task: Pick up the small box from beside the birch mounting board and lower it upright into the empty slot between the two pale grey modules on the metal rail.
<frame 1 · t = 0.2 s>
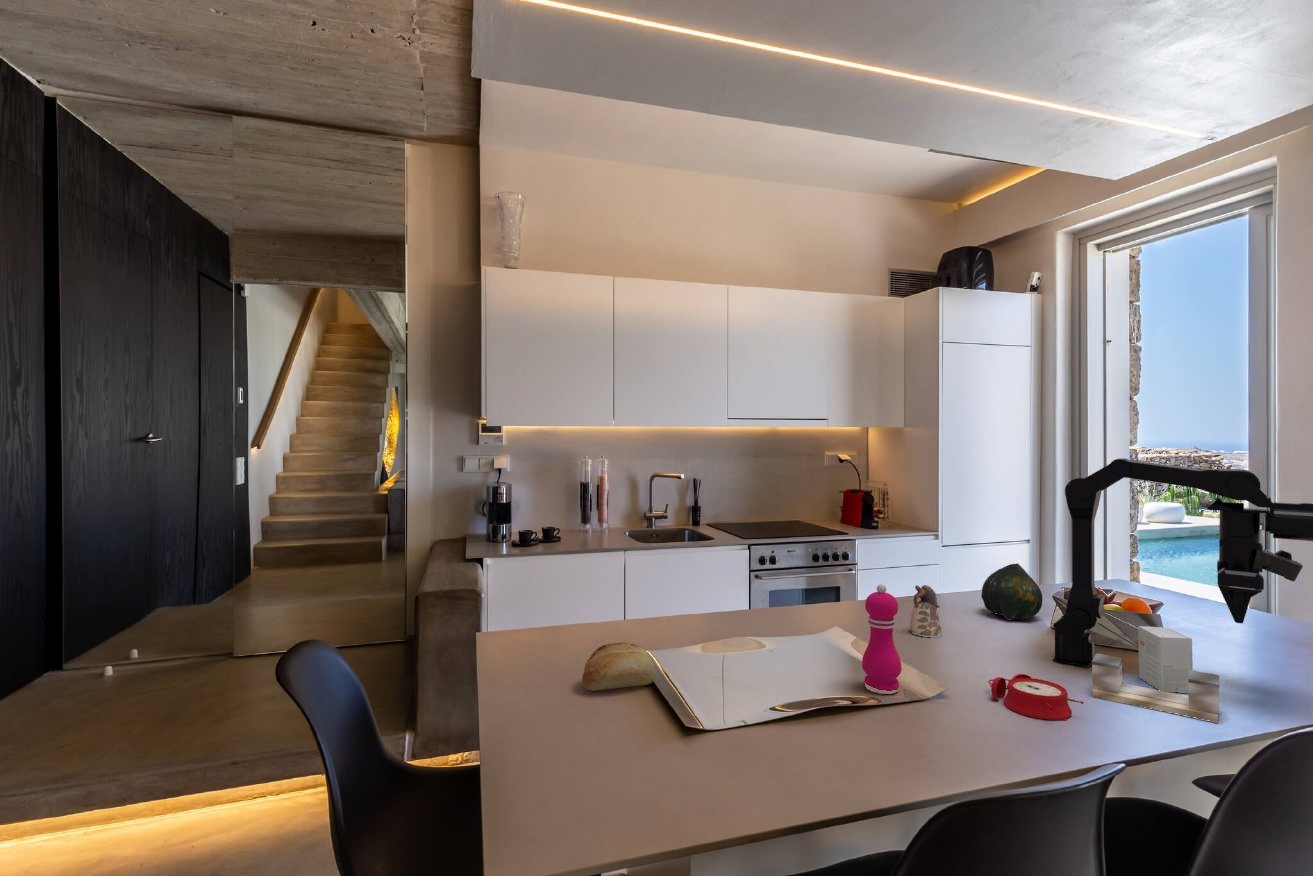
hand: (1238, 618, 123), 14 cm above the table, tool pointing down, fingers open, 9 cm apart
squash: (1010, 617, 178), on the table
alarm clock: (1028, 707, 117), on the table
bread roll: (618, 687, 126), on the table
figurine: (925, 634, 161), on the table
mounting board: (1153, 702, 118), on the table
pepper mill: (881, 689, 125), on the table
small box: (1164, 686, 127), on the table
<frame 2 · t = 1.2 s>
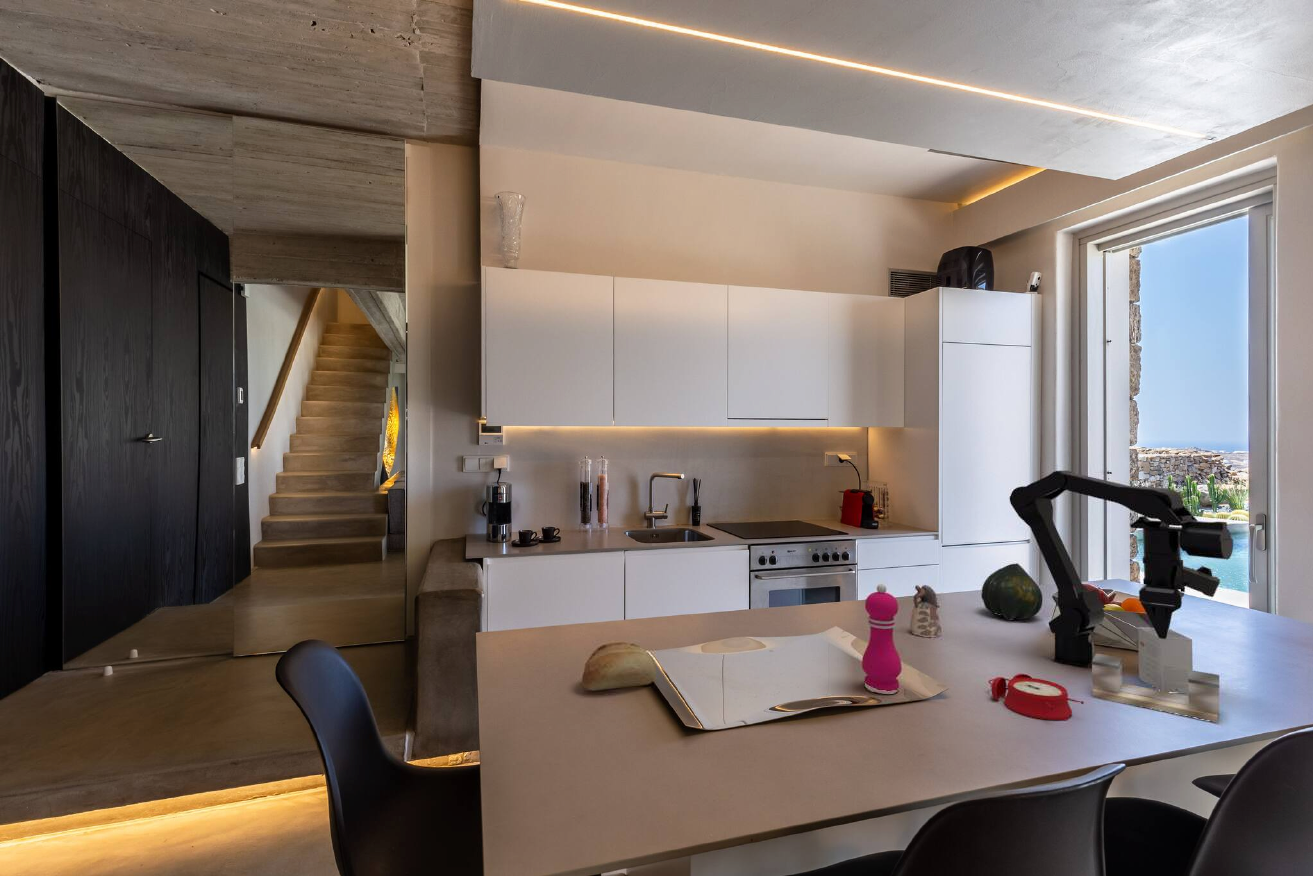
hand: (1164, 633, 127), 10 cm above the table, tool pointing down, fingers closed on small box, 9 cm apart
small box: (1164, 687, 127), on the table, touching gripper
everything else where it was.
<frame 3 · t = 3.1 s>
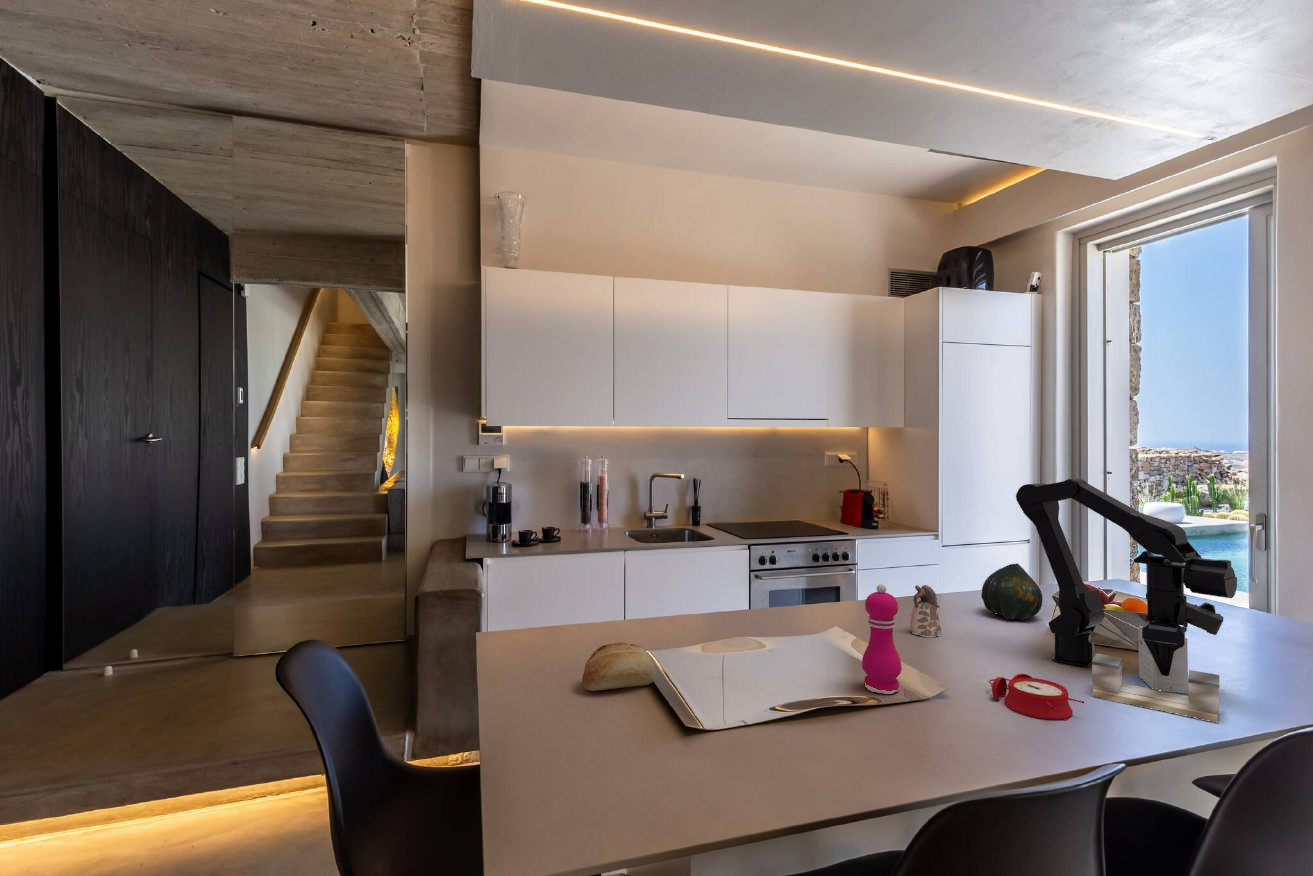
hand: (1166, 669, 127), 3 cm above the table, tool pointing down, fingers closed on small box, 9 cm apart
small box: (1162, 686, 127), on the table, touching gripper
everything else where it was.
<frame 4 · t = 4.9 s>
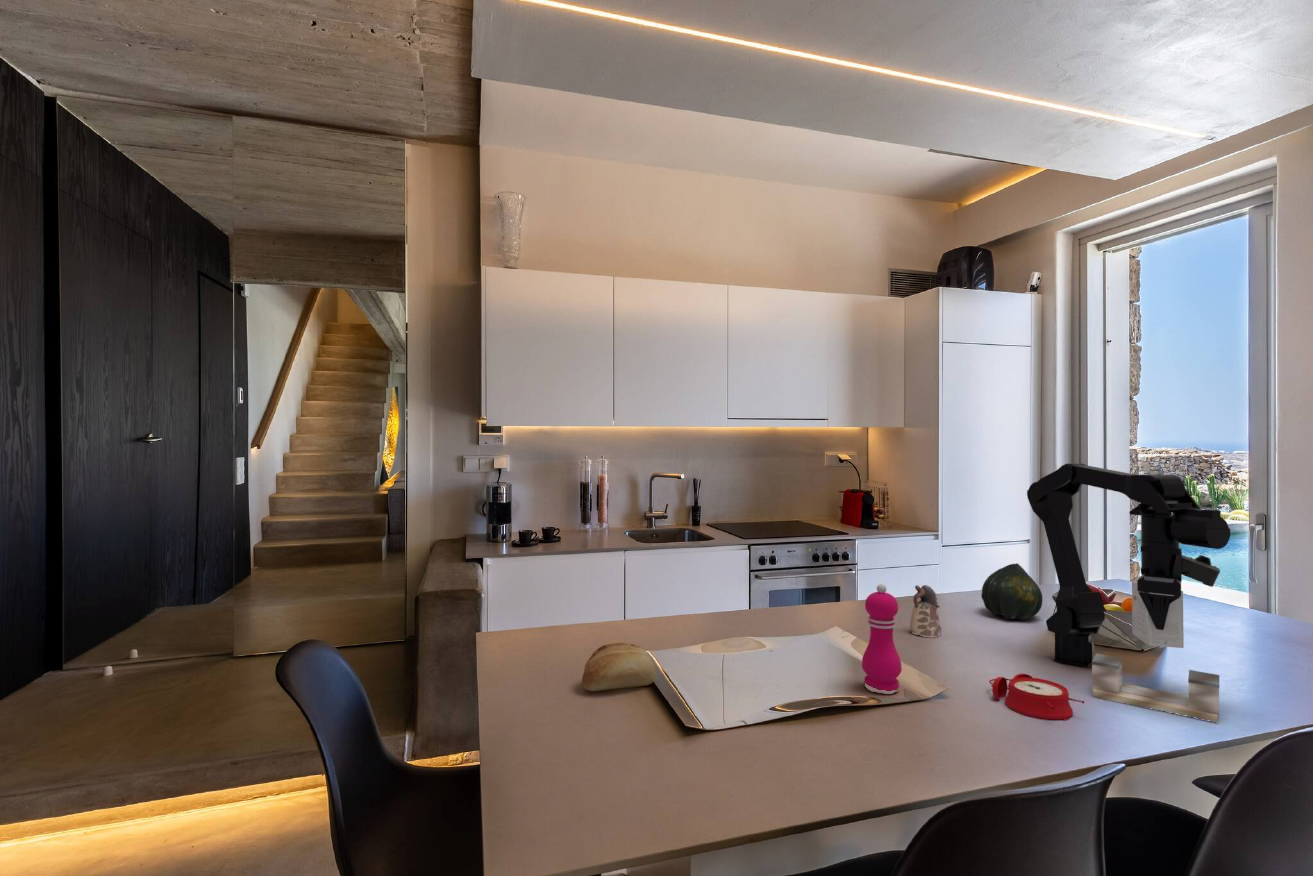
hand: (1160, 624, 123), 13 cm above the table, tool pointing down, fingers closed on small box, 9 cm apart
small box: (1156, 642, 123), point 10 cm above the table, touching gripper
everything else where it was.
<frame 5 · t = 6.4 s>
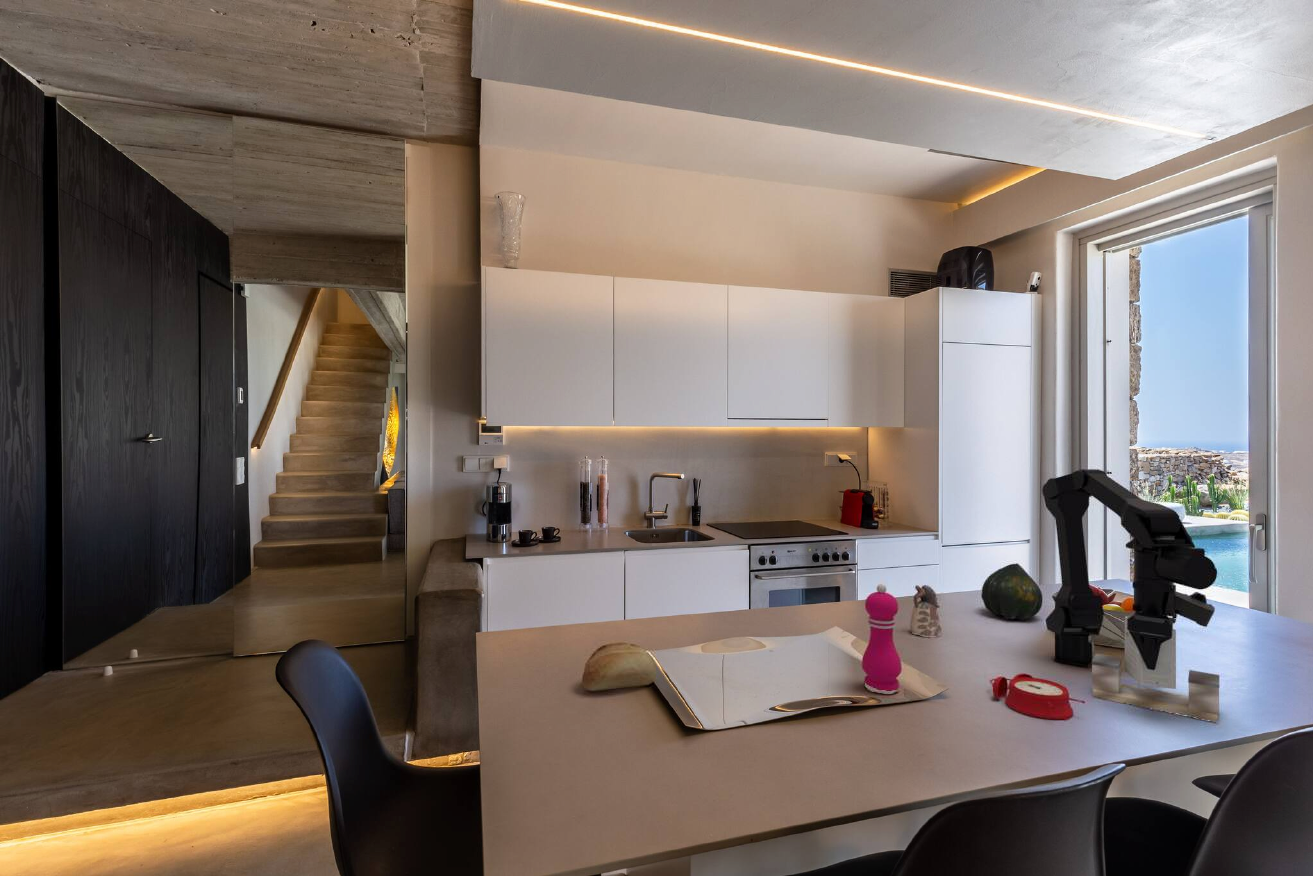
hand: (1153, 662, 119), 7 cm above the table, tool pointing down, fingers closed on small box, 9 cm apart
small box: (1149, 681, 119), point 4 cm above the table, touching gripper
everything else where it was.
when the fingers open (6 cm above the table, at t = 7.8 s): small box drops 1 cm, resting on mounting board.
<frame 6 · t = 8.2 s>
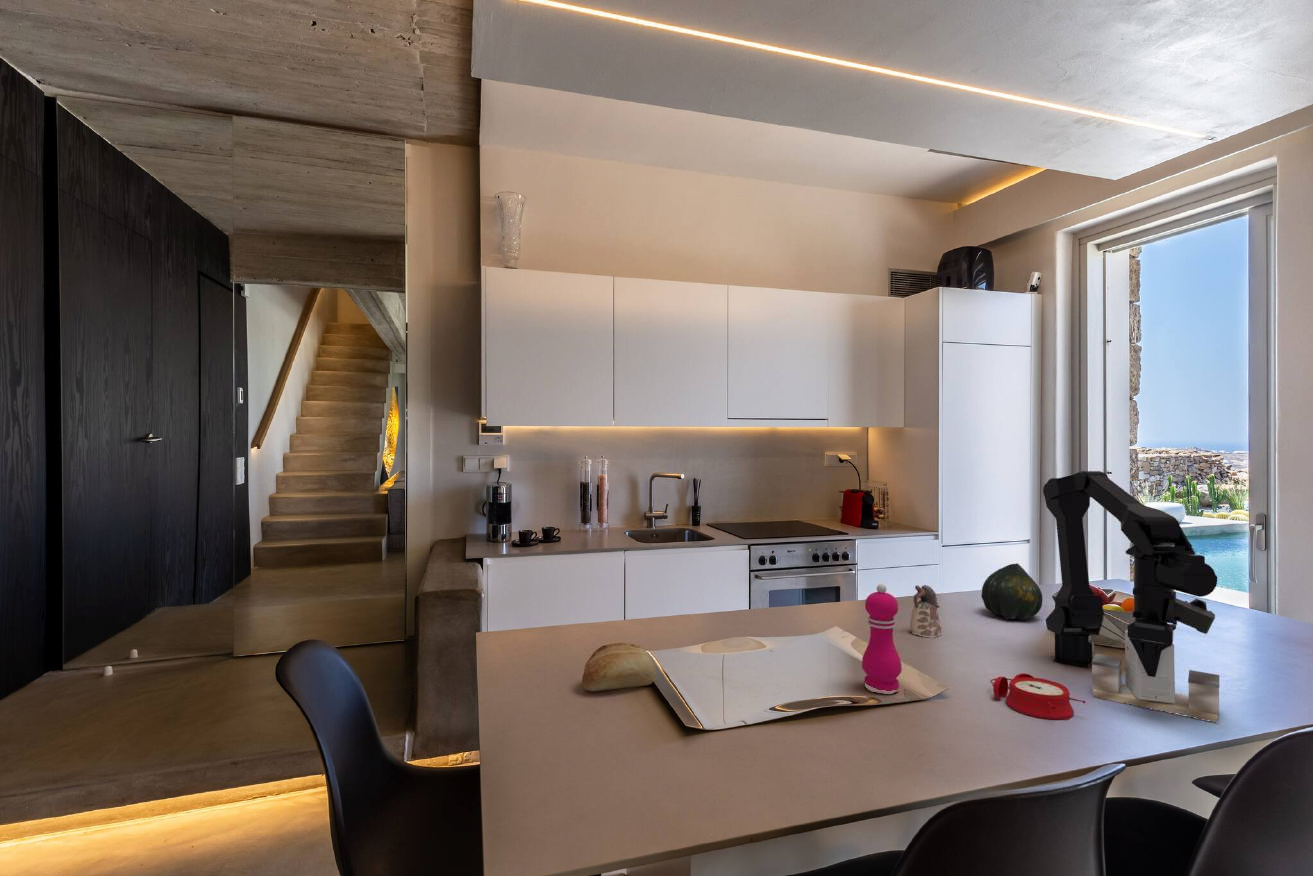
hand: (1153, 669, 119), 6 cm above the table, tool pointing down, fingers open, 9 cm apart
small box: (1149, 695, 119), point 1 cm above the table, touching gripper, mounting board
everything else where it was.
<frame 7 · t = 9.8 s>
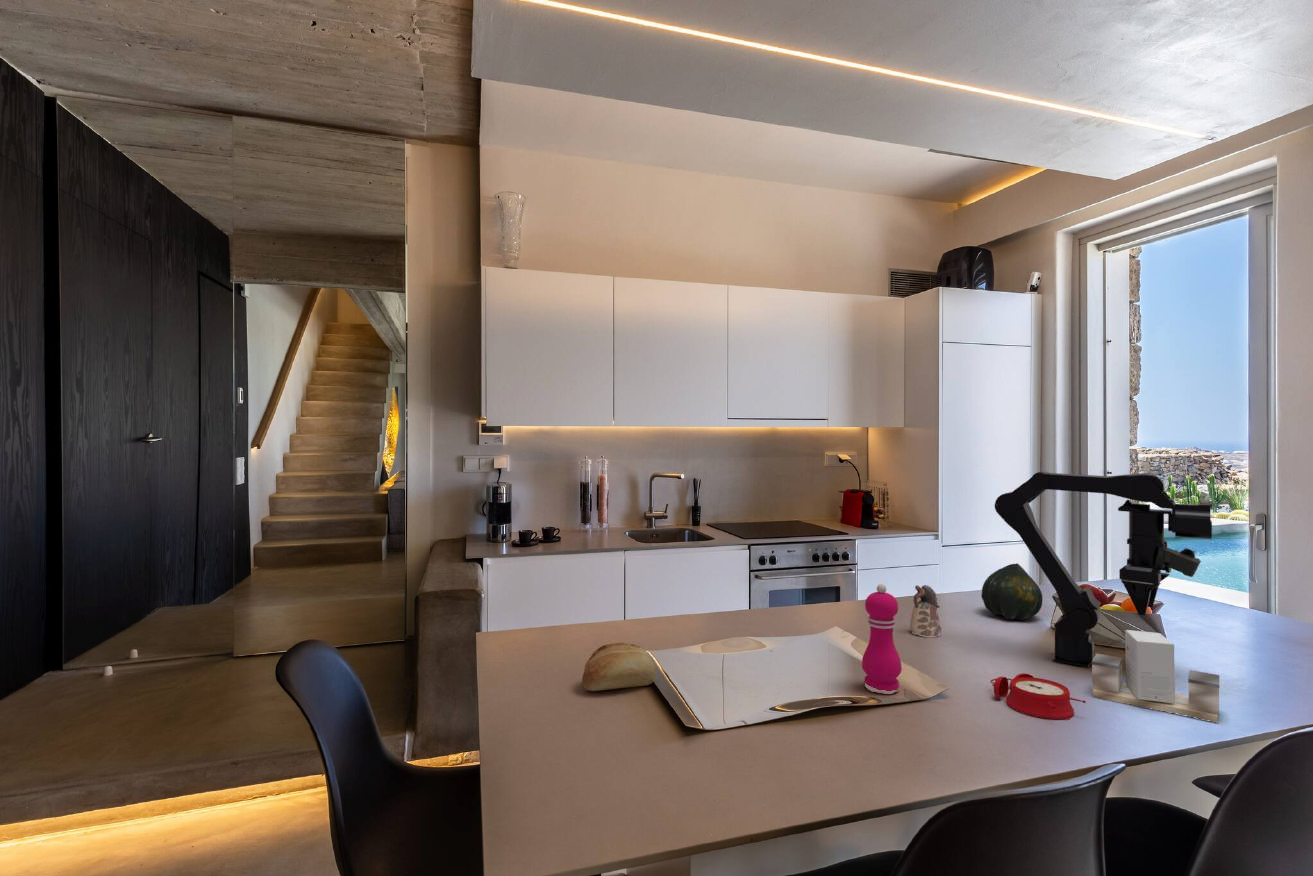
hand: (1145, 611, 133), 13 cm above the table, tool pointing down, fingers open, 9 cm apart
small box: (1149, 695, 119), point 1 cm above the table, touching mounting board
everything else where it was.
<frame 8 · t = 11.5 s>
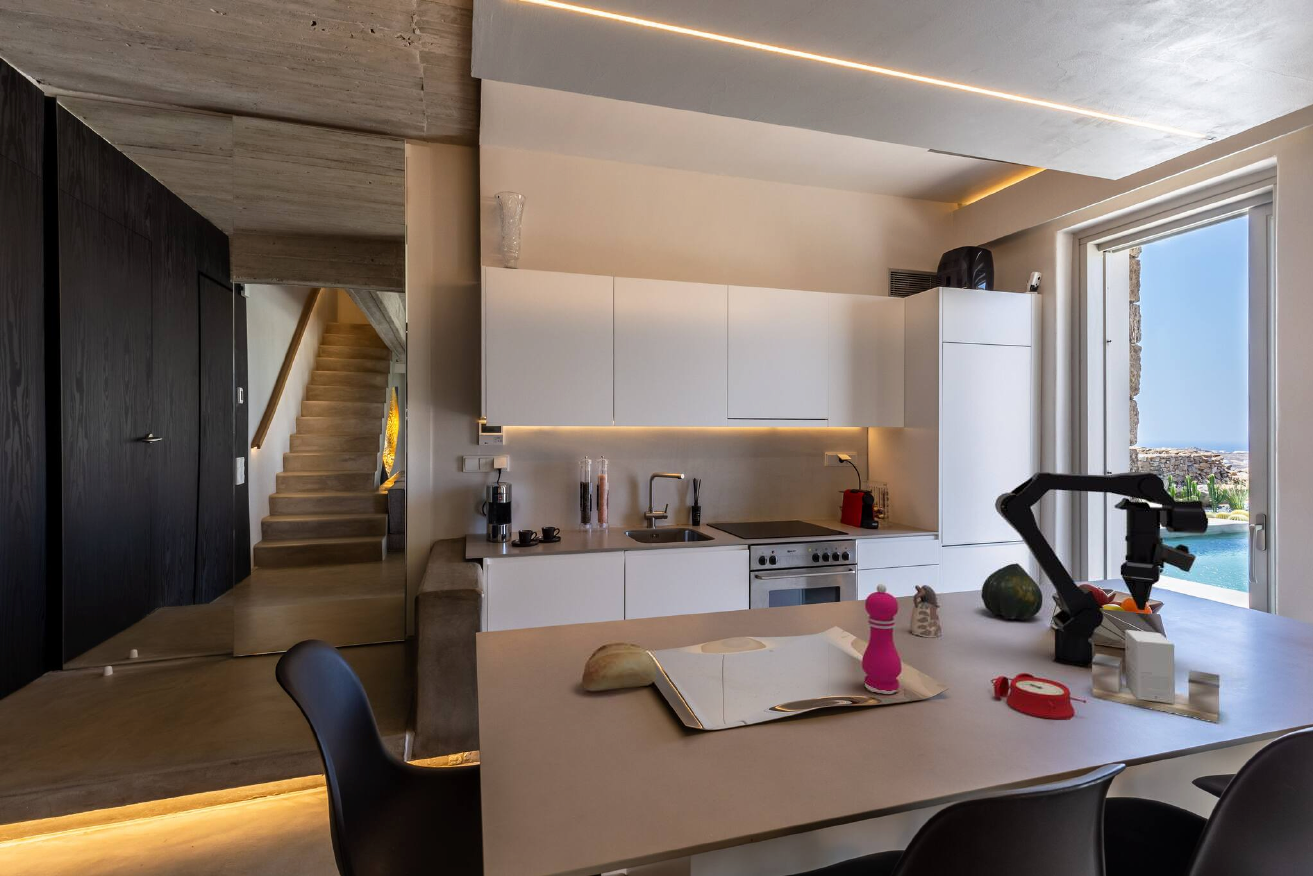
hand: (1143, 605, 137), 13 cm above the table, tool pointing down, fingers open, 9 cm apart
nothing on the table moved.
at the end: small box 0.6 cm off-centre on the mounting board, point 1.2 cm above the mounting board's base; small box tilted 0°; the gripper is holding nothing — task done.
